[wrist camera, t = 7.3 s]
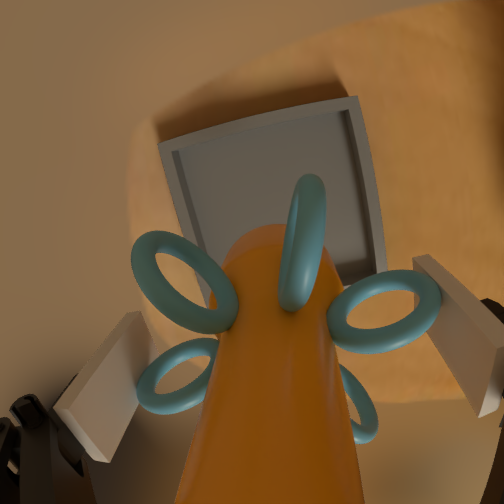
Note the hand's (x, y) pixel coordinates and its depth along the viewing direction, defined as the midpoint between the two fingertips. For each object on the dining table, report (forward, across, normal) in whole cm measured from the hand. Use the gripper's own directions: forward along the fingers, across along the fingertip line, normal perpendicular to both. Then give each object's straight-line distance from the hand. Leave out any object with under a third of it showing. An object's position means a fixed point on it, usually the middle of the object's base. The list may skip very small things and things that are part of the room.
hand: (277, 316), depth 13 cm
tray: (+22, 0, 0) cm, 22 cm away
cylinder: (+5, 0, 0) cm, 5 cm away
